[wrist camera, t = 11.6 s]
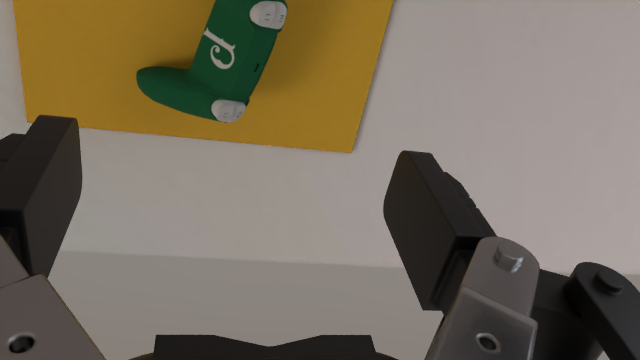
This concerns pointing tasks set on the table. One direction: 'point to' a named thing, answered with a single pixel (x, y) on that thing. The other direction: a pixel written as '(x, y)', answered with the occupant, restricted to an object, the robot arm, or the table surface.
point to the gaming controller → (220, 62)
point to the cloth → (178, 52)
